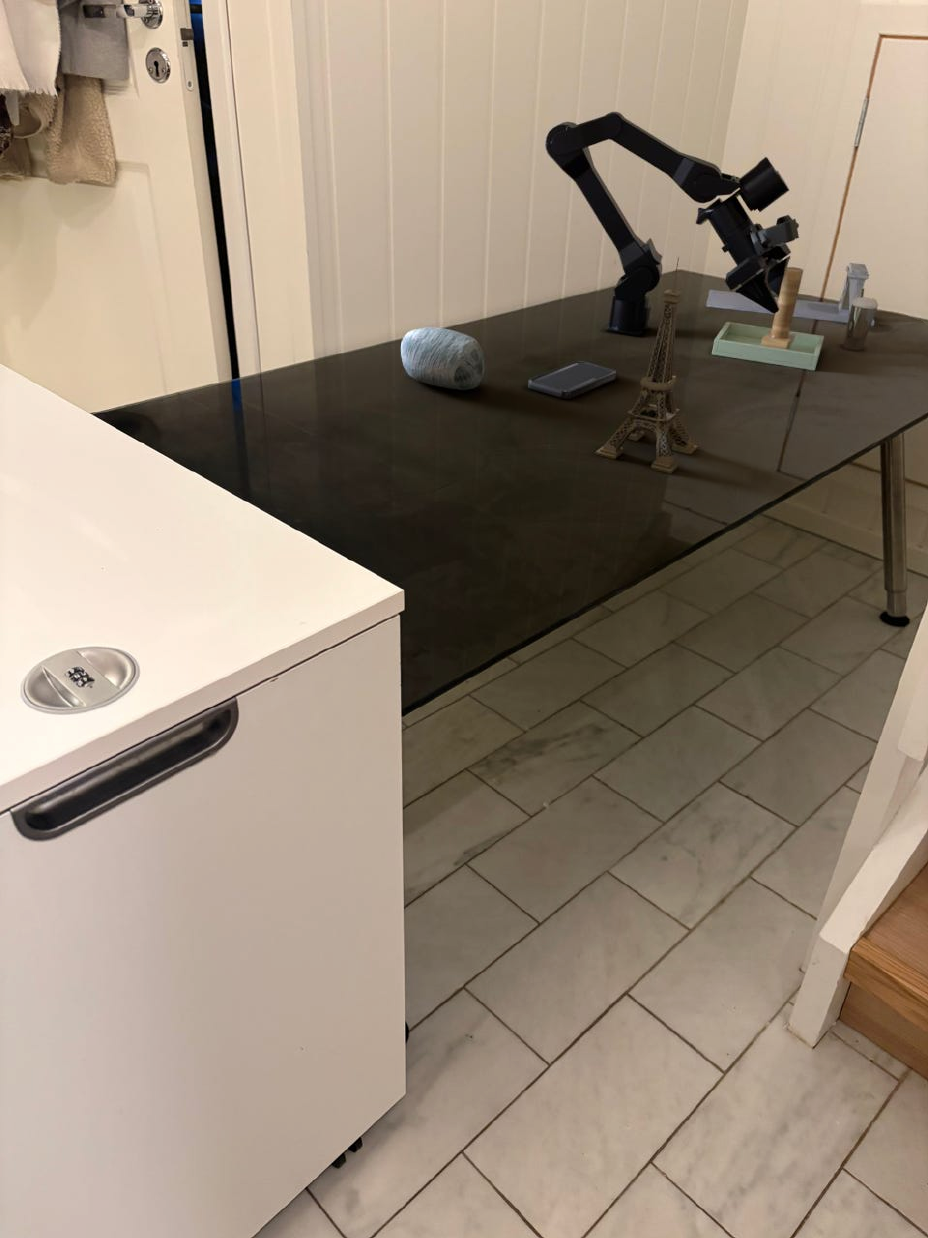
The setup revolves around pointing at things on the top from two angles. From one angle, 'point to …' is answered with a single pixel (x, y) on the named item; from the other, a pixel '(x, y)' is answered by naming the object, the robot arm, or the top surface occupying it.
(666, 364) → the eiffel tower
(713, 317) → the top surface
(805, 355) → the tray
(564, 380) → the phone
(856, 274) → the monument
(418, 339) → the blue yarn skein
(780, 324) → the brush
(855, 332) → the milkshake
